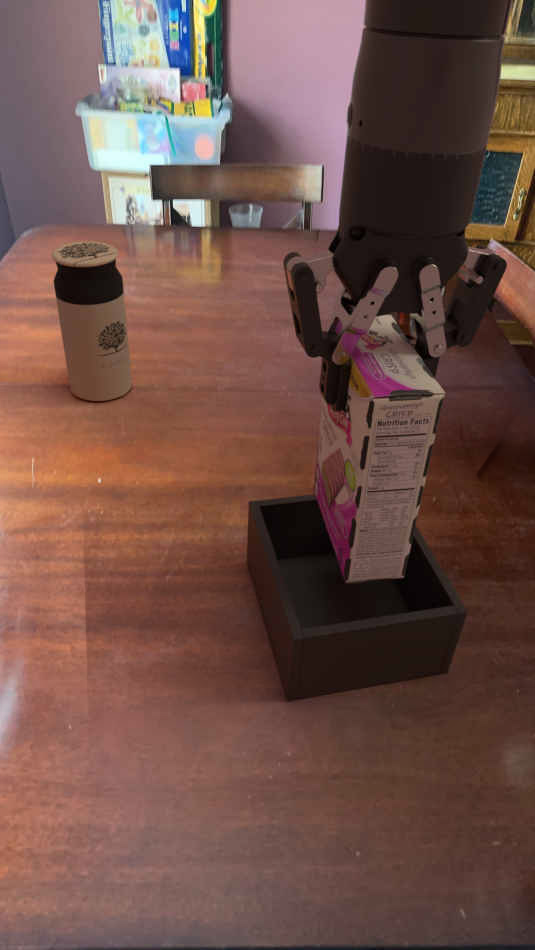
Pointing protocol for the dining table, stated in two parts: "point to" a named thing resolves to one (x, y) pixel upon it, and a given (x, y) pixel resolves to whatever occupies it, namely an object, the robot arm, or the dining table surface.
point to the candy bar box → (377, 455)
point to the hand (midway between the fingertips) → (374, 401)
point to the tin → (405, 319)
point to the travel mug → (93, 320)
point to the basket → (345, 607)
